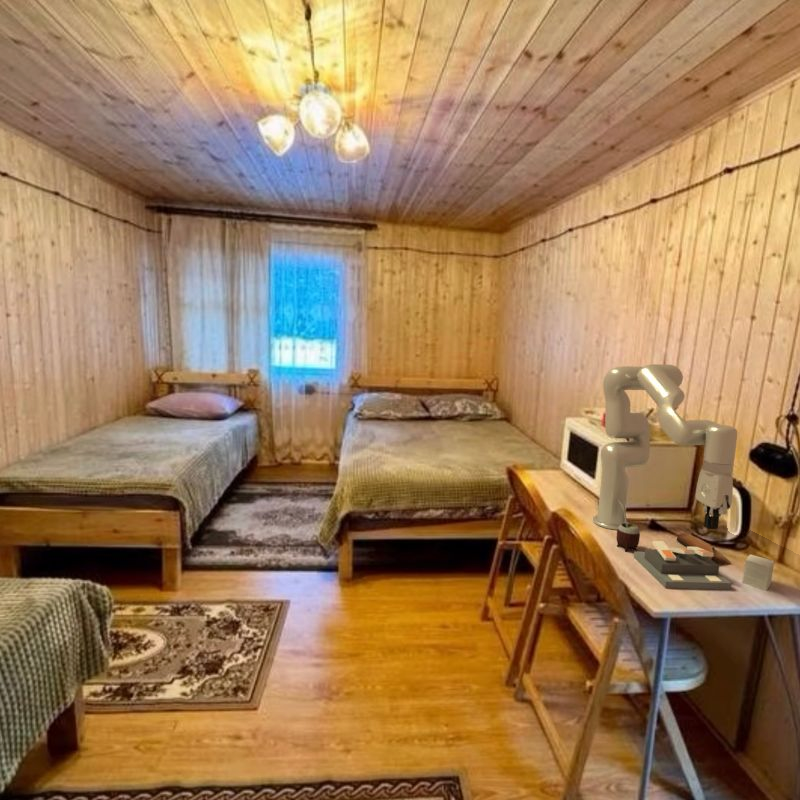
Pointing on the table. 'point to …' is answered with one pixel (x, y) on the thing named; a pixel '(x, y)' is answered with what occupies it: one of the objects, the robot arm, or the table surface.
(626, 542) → the mate gourd
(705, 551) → the rocker
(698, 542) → the sunglasses case
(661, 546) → the block
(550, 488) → the table surface
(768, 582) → the product box
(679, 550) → the rocker middle
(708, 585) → the switch panel
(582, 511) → the table surface
